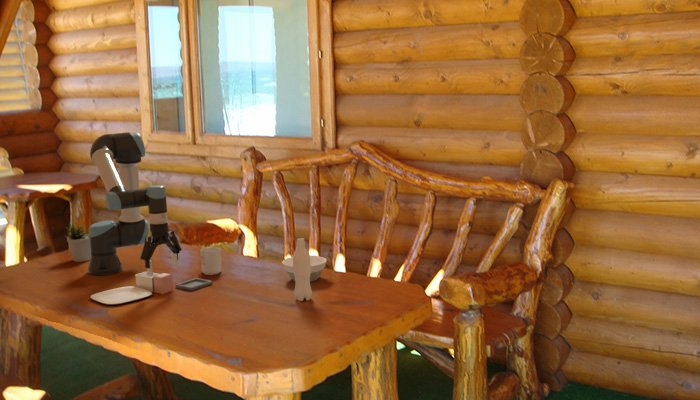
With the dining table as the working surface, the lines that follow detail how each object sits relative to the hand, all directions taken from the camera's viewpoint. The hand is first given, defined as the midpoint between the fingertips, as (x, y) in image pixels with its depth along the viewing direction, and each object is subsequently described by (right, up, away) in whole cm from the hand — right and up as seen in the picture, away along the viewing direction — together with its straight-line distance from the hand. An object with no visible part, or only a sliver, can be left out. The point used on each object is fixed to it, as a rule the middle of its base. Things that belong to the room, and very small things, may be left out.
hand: (162, 271), depth 347 cm
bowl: (+59, -5, +13) cm, 61 cm away
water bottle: (+60, -10, -17) cm, 63 cm away
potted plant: (-55, 0, +62) cm, 83 cm away
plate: (-16, -11, -5) cm, 20 cm away
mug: (+15, -3, +30) cm, 34 cm away
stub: (0, -8, +2) cm, 9 cm away
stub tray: (+12, -7, +8) cm, 16 cm away
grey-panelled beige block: (-7, -8, +7) cm, 13 cm away
